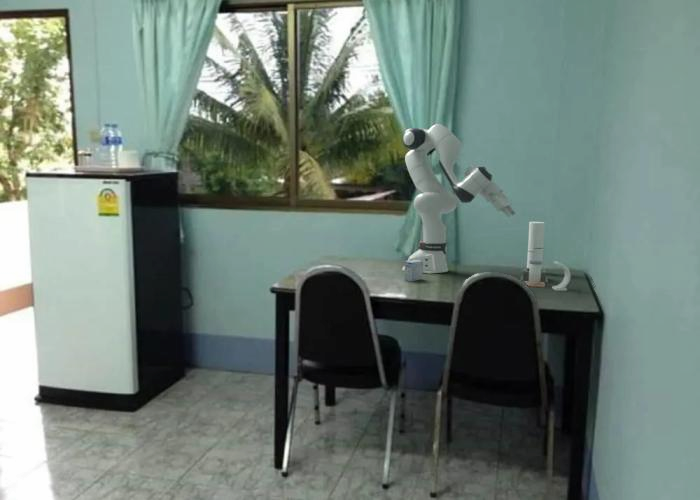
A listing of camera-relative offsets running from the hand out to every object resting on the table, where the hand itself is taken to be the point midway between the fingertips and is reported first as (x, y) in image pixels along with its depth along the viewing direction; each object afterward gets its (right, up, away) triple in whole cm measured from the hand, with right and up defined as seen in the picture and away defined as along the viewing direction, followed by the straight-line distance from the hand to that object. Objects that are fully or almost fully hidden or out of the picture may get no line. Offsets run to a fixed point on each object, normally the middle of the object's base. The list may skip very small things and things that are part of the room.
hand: (512, 215), depth 288 cm
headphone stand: (+15, -33, -23) cm, 43 cm away
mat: (+6, -32, -13) cm, 35 cm away
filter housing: (+10, -30, -2) cm, 32 cm away
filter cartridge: (+6, -31, -13) cm, 34 cm away
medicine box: (-47, -30, -6) cm, 56 cm away
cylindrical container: (+15, -28, +16) cm, 36 cm away
